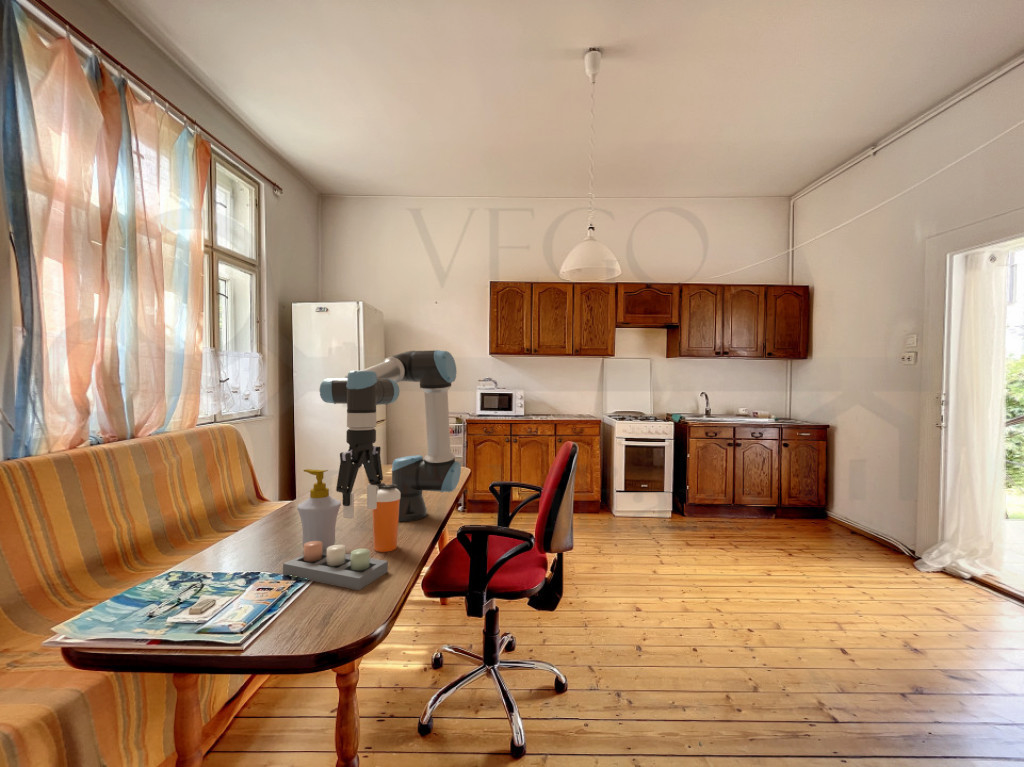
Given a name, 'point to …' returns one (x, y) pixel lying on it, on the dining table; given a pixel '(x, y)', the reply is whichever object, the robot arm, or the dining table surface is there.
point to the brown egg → (312, 551)
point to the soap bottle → (319, 513)
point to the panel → (336, 571)
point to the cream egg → (335, 555)
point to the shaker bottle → (386, 518)
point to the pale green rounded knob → (360, 559)
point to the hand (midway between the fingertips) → (360, 512)
